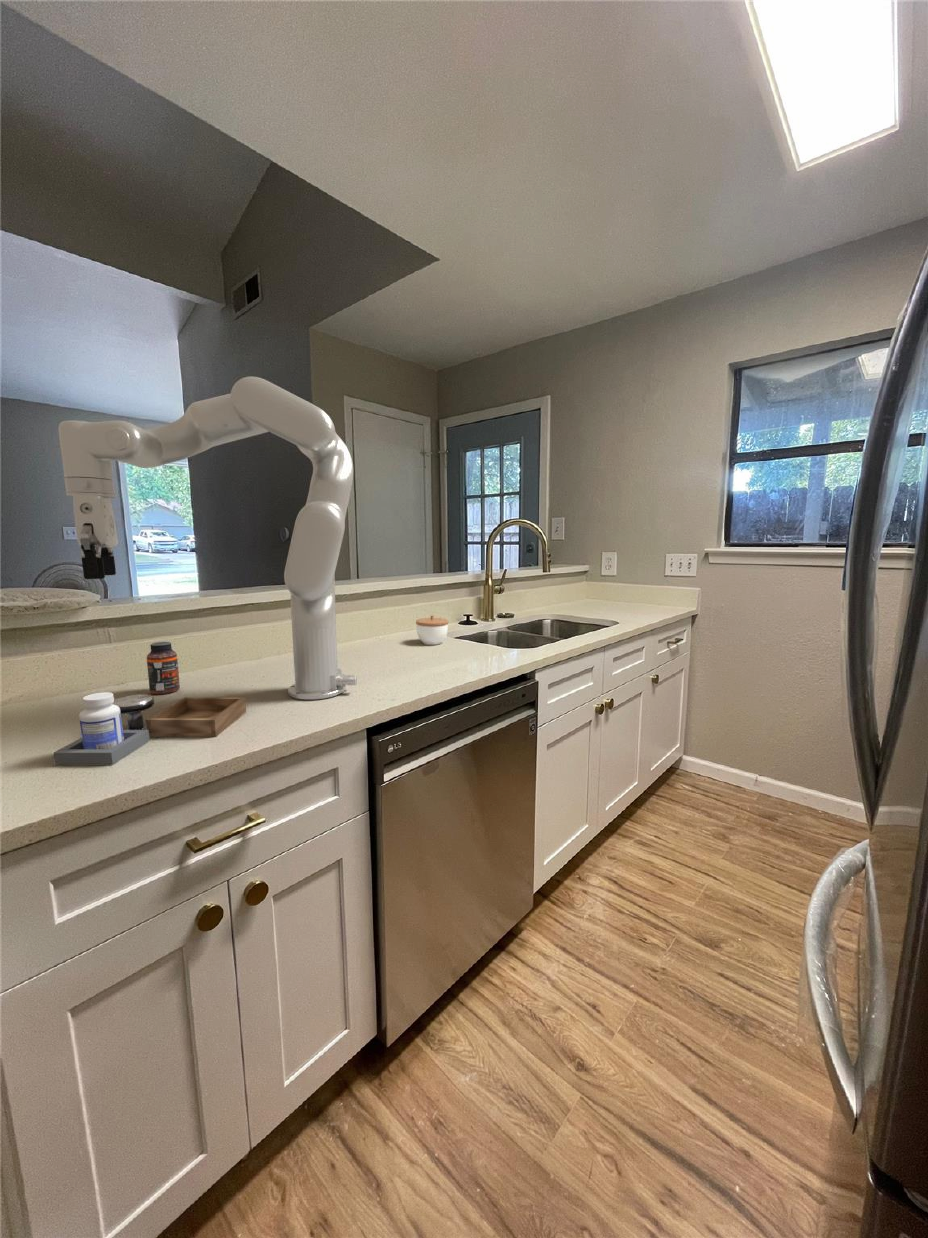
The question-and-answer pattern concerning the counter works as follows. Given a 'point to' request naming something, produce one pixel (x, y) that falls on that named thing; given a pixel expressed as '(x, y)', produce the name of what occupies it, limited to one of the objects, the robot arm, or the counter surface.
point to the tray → (196, 717)
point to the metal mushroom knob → (134, 709)
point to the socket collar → (101, 750)
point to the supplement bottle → (162, 669)
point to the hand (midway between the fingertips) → (101, 576)
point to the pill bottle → (100, 722)
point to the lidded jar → (432, 630)
